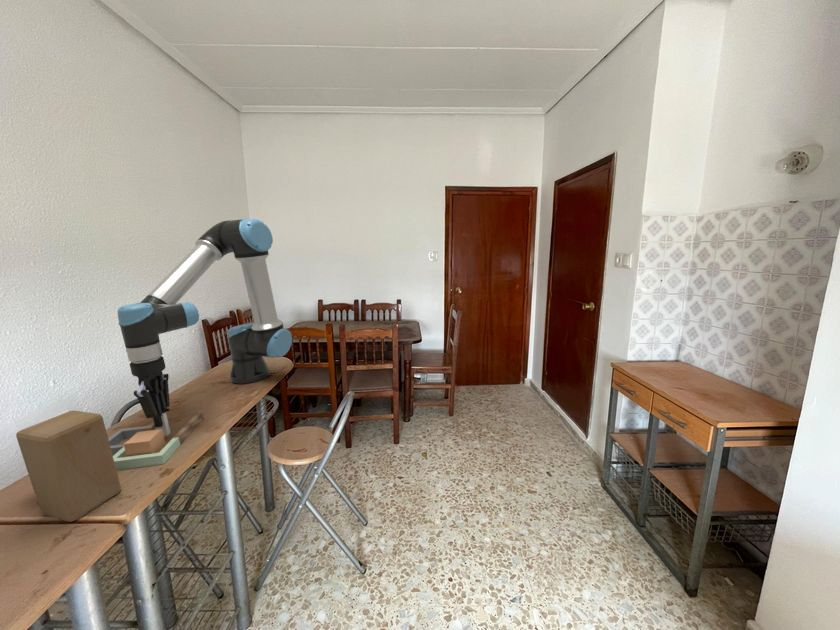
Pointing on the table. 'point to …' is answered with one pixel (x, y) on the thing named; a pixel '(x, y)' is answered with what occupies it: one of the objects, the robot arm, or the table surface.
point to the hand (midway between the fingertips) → (164, 434)
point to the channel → (186, 429)
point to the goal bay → (145, 457)
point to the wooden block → (69, 464)
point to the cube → (145, 443)
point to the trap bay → (122, 437)
